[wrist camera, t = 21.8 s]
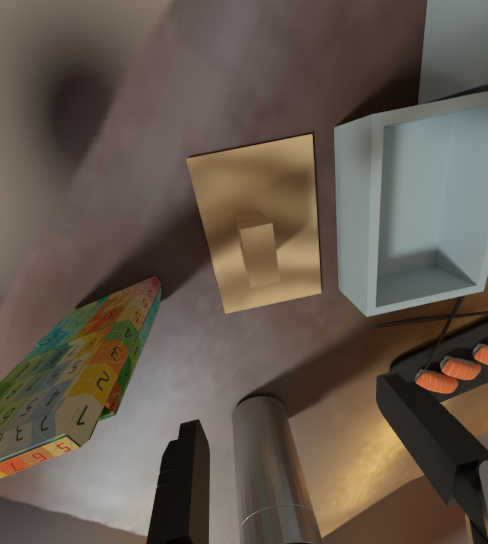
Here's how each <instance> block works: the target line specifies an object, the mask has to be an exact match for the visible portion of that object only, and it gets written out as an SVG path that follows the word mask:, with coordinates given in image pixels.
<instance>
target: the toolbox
mask: <svg viewBox="0 0 488 544" xmlns="http://www.w3.org/2000/svg"><path fill="white" fill-rule="evenodd" d="M484 89H488V0H427V10H426V21H425V32H424V43H423V54H422V65H421V76H420V87H419V97H418V105H416V106H411V107H406V108H401V109H396V110H391V111H386V112H381V113H376V114H372V115H369V116H366V117H363V118H360V119H357V120H354V121H352V122H349V123H346V124H343V125H340V126H337V127H334V142H335V178H336V213H337V249H338V285H339V290H340V291H341V292H342V293H343V294H344V295H345V296H346V297H347V298H348V299H349V300H350V301H351V302H352V303H353V304H354V305H355V306H356V307H357V308H358V309H359V310H360V311H361V312H362V313H363V314H364V315H365V316H366V317H368V316H373V315H378V314H382V313H387V312H391V311H396V310H400V309H405V308H409V307H414V306H418V305H423V304H427V303H432V302H437V301H441V300H446V299H450V298H455V297H459V296H464V295H468V294H473V293H477V292H482V291H484V288H485V284H486V280H487V276H488V91H486V92H481V93H476V94H471V93H474V92H477V91H481V90H484ZM467 94H471V95H467ZM464 95H466V96H464ZM460 96H461V97H460Z"/></svg>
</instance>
